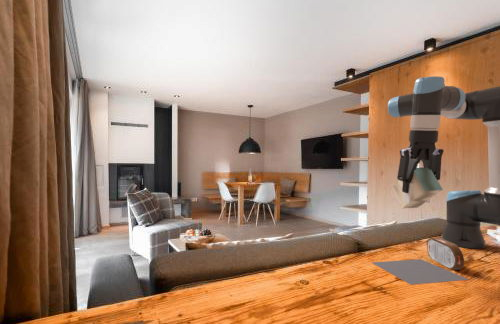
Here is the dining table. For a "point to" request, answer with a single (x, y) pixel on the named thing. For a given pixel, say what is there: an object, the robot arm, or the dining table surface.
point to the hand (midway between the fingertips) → (416, 201)
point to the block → (419, 188)
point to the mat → (418, 271)
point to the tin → (445, 253)
